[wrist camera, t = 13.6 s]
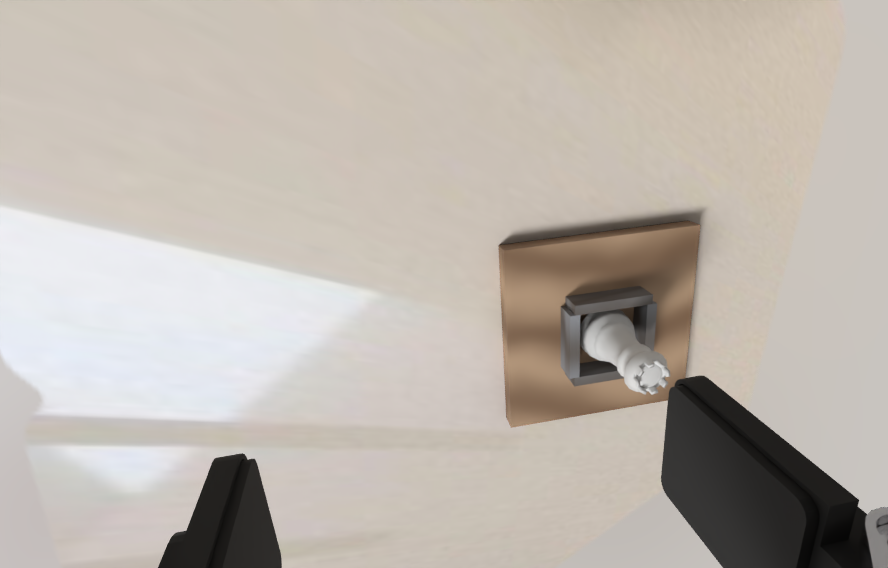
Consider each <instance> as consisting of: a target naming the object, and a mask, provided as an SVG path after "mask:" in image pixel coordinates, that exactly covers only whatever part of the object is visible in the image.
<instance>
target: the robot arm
mask: <svg viewBox="0 0 888 568" xmlns="http://www.w3.org/2000/svg"><path fill="white" fill-rule="evenodd" d="M661 482H662V486H663V489H664V491H665V493H666V495H667V496H668V497H669V499H670V500H671V501H672V503H673V504H674V505H675V507H676V508H677V509H678V510H679V512H680V513H681V514H682V515H683V517H684V518H685V519H686V521H687V522H688V523H689V524H690V525H691V527H692V528H693V529H694V531H695V532H696V533H697V535H698V536H699V537H700V539H701V540H702V541H703V542H704V544H705V545H706V546H707V547H708V549H709V550H710V551H711V553H712V554H713V555H714V557H715V558H716V559H717V560H718V562H719V563H720V564H721V566H722V567H723V568H888V507H883V508H882V507H881V508H879V509H875V510H872V511H871V512H870V513H869V514H868V515H867V514H866V513H865V512H864V511H862V510H861V509H860V508H859V507H858V502H859V500H858V499H857V498H856V497H854V496H853V495H852V494H851V493H849V492H848V491H847V490H846V489H845V488H843V487H842V486H841V485H840V484H838V483H837V482H836V481H835V480H833V479H832V478H831V477H830V476H828V475H827V474H826V473H825V472H824V471H822V470H821V469H820V468H819V467H817V466H816V465H815V464H814V463H812V462H811V461H810V460H809V459H807V458H806V457H805V456H804V455H802V454H801V453H800V452H799V451H797V450H796V449H795V448H794V447H792V446H791V445H790V444H789V443H788V442H786V441H785V440H784V439H782V438H781V437H780V436H779V435H778V434H776V433H775V432H774V431H773V430H771V429H770V428H769V427H768V426H766V425H765V424H764V423H763V422H761V421H760V420H759V419H758V418H756V417H755V416H754V415H753V414H752V413H750V412H749V411H748V410H747V409H745V408H744V407H743V406H742V405H740V404H739V403H738V402H737V401H735V400H734V399H733V398H732V397H730V396H729V395H728V394H727V393H725V392H724V391H723V390H722V389H720V388H719V387H718V386H717V385H715V384H714V383H713V382H712V381H711V380H709V379H708V378H706V377H705V376H695V377H689V378H684V379H679V380H677V381H676V383H675V385H674V387H671V388H670V390H669V396H668V407H667V418H666V430H665V441H664V452H663V464H662V475H661ZM281 567H282V563H281V553H280V549H279V545H278V542H277V538H276V534H275V530H274V526H273V523H272V519H271V515H270V511H269V507H268V504H267V500H266V496H265V492H264V489H263V485H262V481H261V477H260V473H259V470H258V466H257V463H256V460H255V459H249V460H247V458H246V456H245V454H243V453H242V454H236V455H230V456H225V457H219V458H215V459H214V461H213V462H212V465H211V467H210V470H209V473H208V475H207V478H206V481H205V483H204V486H203V489H202V491H201V494H200V497H199V499H198V502H197V504H196V507H195V510H194V512H193V515H192V518H191V520H190V523H189V526H188V528H187V531H183V532H178V533H175V534H174V535H173V536H172V537H171V539H170V541H169V543H168V545H167V547H166V550H165V552H164V555H163V557H162V560H161V562H160V564H159V567H158V568H281Z"/></svg>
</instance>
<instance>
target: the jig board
mask: <svg viewBox="0 0 888 568" xmlns="http://www.w3.org/2000/svg"><path fill="white" fill-rule="evenodd" d="M699 235H700V225H699V224H697V223H694V222H691V221H682V222H675V223H667V224H659V225H651V226H644V227H636V228H628V229H620V230H613V231H605V232H597V233H589V234H582V235H574V236H566V237H558V238H550V239H543V240H535V241H527V242H519V243H512V244H504V245H499V263H500V286H501V308H502V330H503V352H504V374H505V396H506V417H507V420H508V422H509V424H510V426H511V428H512V427H517V426H523V425H529V424H535V423H540V422H546V421H552V420H557V419H563V418H569V417H575V416H580V415H586V414H592V413H597V412H603V411H609V410H615V409H620V408H626V407H632V406H637V405H643V404H649V403H655V402H660V401H666V400H668V396H669V390H670V388H671V387H674V385H675V383H676V381H677V380H679V379H684V378H685V374H686V364H687V354H688V344H689V334H690V324H691V314H692V304H693V294H694V285H695V275H696V265H697V255H698V245H699ZM617 309H619V310H621V311H623V312H624V314H625V315H626V316H628V318H629V319H630V321H631V322H632V324H633V326H634V331H635V337H636V339H637V340H638V342H639V343H640V344H643V345H645V346H647V347H649V348H650V350H651V351H656V352H658V353H660V354H662V355H663V356H664V358H665V359H666V361H667V367H668V369H669V370H670V377H665V380H666V381H667V382H668V384H667V386H666V387H665V388H663V387H662V386H661V385H660V386H659V387H657V388H656V389H657V390H658V393H656V394H653V395H651V393H650V392H649V391H648V392H647V393H646V395H645V394H643V393H641V392H635V391H633V390H631V389H629V388H628V386H627V385H626V384H625V381H624V377H623V376H621V375H620V373H619V372H618V371H617V367H616V366H615V365H613V364H612V363H611V362H606V361H599V360H597V359H595V358H593V357H591V356H589V354H588V353H587V352H585V351H584V350H583V349H582V347H581V346H580V324H581V323H582V321H583V320H584V318H585V317H586V316H587V315H588V314H590V313H597V312H603V311H610V310H617Z"/></svg>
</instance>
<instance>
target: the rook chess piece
mask: <svg viewBox="0 0 888 568" xmlns="http://www.w3.org/2000/svg"><path fill="white" fill-rule="evenodd" d="M580 346H581V347H582V349H583V350H584V351H585V352H587V353H588V354H589V356H591V357H593V358H595V359H597V360H599V361H606V362H611V363H612V364H613V365H615V366H616V367H617V371H618V372H619V373H620V375H621V376H623V377H624V381H625V384H626V385H627V386H628V388H629V389H631V390H633V391H635V392H641V393H643V394H645V395H646V393H647V392H648V391H649V392H650V393H651V395H653V394H656V393H658V390H657V389H656V388H657V387H659V386H660V385H661V386H662V387H663V388H665V387H666V386H667V384H668V382H667V381H666V380H665V377H670V370H669V369H668V367H667V361H666V359H665V358H664V356H663V355H662V354H660V353H658V352H656V351H651V350H650V348H649V347H647V346H645V345H643V344H640V343H639V342H638V340H637V339H636V337H635V331H634V326H633V324H632V322H631V321H630V319H629V318H628V316H626V315H625V314H624V312H623V311H621V310H619V309H617V310H610V311H603V312H597V313H590V314H588V315H587V316H586V317H585V318H584V320H583V321H582V323H581V324H580Z"/></svg>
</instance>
